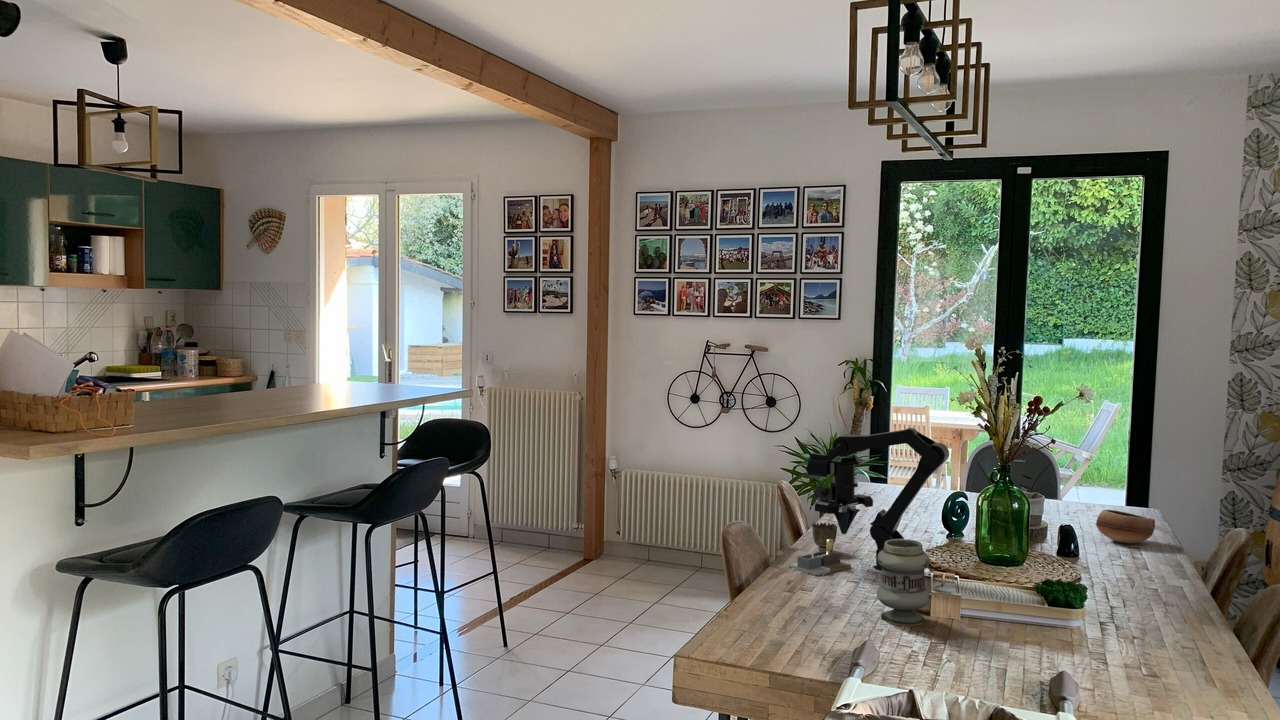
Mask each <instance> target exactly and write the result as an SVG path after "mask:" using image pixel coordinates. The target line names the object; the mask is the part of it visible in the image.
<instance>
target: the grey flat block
mask: <svg viewBox="0 0 1280 720" xmlns="http://www.w3.org/2000/svg"><path fill="white" fill-rule="evenodd" d="M825 553H826V551H822V552H820V551H817V552H813V557H814V556H816V555H821V554H825ZM851 565H852V564H851V563H848V562H844V561H841V552H834V554H829V555H824V556H823V564H822V565H821V566H822V567H825V568H829V569H830V573H835V572H839V571H843V570H847V569H851V568H852V566H851Z"/></svg>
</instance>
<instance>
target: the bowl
mask: <svg viewBox="0 0 1280 720" xmlns="http://www.w3.org/2000/svg"><path fill="white" fill-rule="evenodd" d="M1095 526H1096V528H1097V529H1098V531H1099V532H1100V533H1101V534H1102V535H1104V536H1106V537H1107V538H1109V539H1110V540H1112V541H1114V542H1117V543H1122V544H1137V543H1141V542H1144V541H1147V540H1148V539H1151V537H1152V536H1153V534H1154V532H1155V528H1156V520H1155V518H1152V517H1147V516H1143V515H1139V514H1135V513H1132V512H1131V513H1130V512H1126V511H1121V510H1113V509H1103V510H1101V511H1100V513H1099V515H1098V516H1097V519H1096V523H1095Z"/></svg>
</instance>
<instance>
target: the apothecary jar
mask: <svg viewBox="0 0 1280 720" xmlns="http://www.w3.org/2000/svg"><path fill="white" fill-rule="evenodd" d="M877 561H878V563H879V564H880V565H881V566H882V570H881V574H882V575H881V584H880V585H879V586H878V587H877V590H876V597H877V600H878V601H879V602H880V603H881V604H882V605H884V606H886V607H888V608H890V610H885V611H884V612H882V613H881V614H880V619H881V620H884V621H885V622H886V623H888V624H891V625H896V626H902V627H915V626H916V627H917V626H920V625H923V624H924V623H925V622H926V618H925V617H924V616H923V615H921V614H920V613H917V612H916V611H918V610H920V609H922V608H924V607H926V606H927V605H928V604H929V603H930V602H931V593H930V592H929V590H928V589H927V587H925V585H926V583H925V581H926V580H925V570H926V569H927V568H928V567H929V566H930V563H931V559H930V557H929V555H928V554H927V553H926V552H925V551H924V549H923V543H922V542H920V541H919V540H914V539H907V538H904V539H892V540H888V541H886V542H885V544H884V549H883V550H882V551H880V552H879V554H878V556H877Z"/></svg>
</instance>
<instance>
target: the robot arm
mask: <svg viewBox="0 0 1280 720" xmlns="http://www.w3.org/2000/svg"><path fill="white" fill-rule="evenodd" d="M903 444H906V445H908V446H909V447H910V448H911V449H912V450H913V451H914V452H915V453H916V454H918V455H919V456H921V457H920V459H919V461H918V464H917V467H916V469H915V471H914V473H913V475H911V476H910V478H909V480H908V481H907V483H906V484H905V485H904V487H903V488H902V490H901V491H900V492H899V495H897V497H896V499H895V500H894V502H893V503H892V504H891V506H889V508H888V510H887V511H886V509H884V508H882V509H881V510H880V511H879V512H877V514H876V516H875V518H874V520H873V521H872V522H870V524H869V525H871V526H870V529H869V534H870V537H871V538H872V539H873V541H875V544H876V547H877V548H876V550H875V553H876V555H875V565H872V566H873V568H874V569H877V570H880V571H882V566H881V565H880V564H879V563H878V561H877V556H878V554H879V552H880V551H882V550H883V549H884V544H885V542H886V541H888V540H892V539H905V537H904V536H903V535H902V534H901V533H900V532H899V531H898V528H899V525H900V524H901V523H900V522H901V520H902V517H903V515H904V514H905V512H906V511H907V509H908V508H909V507H910V505H911V503H912V502H913V501H914V499H915V498H916V497H917V495H918V494H919V492H920V491H921V489H922V488H923V486H925V484H926V482H927V481H928V479H929V478H930V477H931V476H932V475H933V474H934V473H935V472H936V471H937V470H938V469H939V468H940V467H941V466H942V465H943V464H945V462H946V461H947V460H948V459H949V457H950V451H949V448H948V447H947V446H946V445H945V444H944V443H941V442H936V441H934V440H933V439H931V438H929V437H928V436H926V435H924V434H923V433H921V432H920V431H918V430H917V429H915V428H914V427H908V428H906V429H899V430H893V431H886V432H881V433H879V432H878V433H874V434H873V433H872V434H852V433H851V434H850V433H849V434H848V433H847V434H843V435H839V436H837V437H836V438H834V439H833V441H832V445H831V446H832V447H831V449H830V450H829V451H828V452H827V454H823V453H816V452H812V453H809V458H808V461H807V465H806V473H807V476H808V477H812V478H824V479H829V478H830V476H833V481H830V483H829V487H826V488H825V487H824V486H823V485H819V486H815V487H814V497H815V498H816V499H819V500H817V501H816V502H815V503H814V511H815V512H819V513H823V514H828V515H832V514H833V515H834V516H835V519H836V520H837V524H838V525H837V526H838V527H839V530H840V532H841V535H846V534H847V533H848V531H849V529H850V527H851V525H852V523H853V521H854V519H855V518H856V517H857V514H858V513H859V512H861V510H860V509H859V508H857V505H862V506H864V507H865V508H870V507H871V508H872V507H873V506H874V500H873V498H872V497H871V496H870V495H864V494H859V493H857V494H855V491H856V490H855V488H858V486H859V484H858V483H857V482H856V481H855V480H856V479H855V474H856V473H855V472H856V471H855V470H856V469H855V466H859V465H862V464H863V461H862V460H861V459H860V458H859V457H858V456H857V455H854V454H856V453H859V452H861V451H865V450H869V449H870V450H871V449H875V448H877V449H878V448H884V447H890V446H897V445H903ZM851 455H854V456H852V457H847V456H851ZM839 457H841V459H838V458H839Z"/></svg>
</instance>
